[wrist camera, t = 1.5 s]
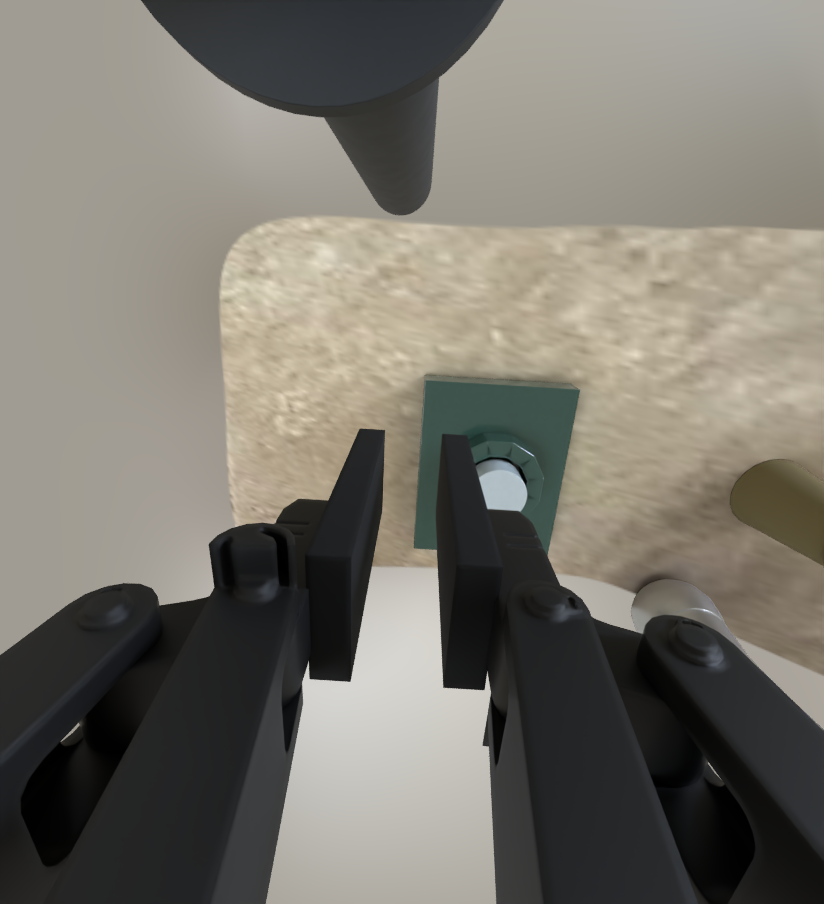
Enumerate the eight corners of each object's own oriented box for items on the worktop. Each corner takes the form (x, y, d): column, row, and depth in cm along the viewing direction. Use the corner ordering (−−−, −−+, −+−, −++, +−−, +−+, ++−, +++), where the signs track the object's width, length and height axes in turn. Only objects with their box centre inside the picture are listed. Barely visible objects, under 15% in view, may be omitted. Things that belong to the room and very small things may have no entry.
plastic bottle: (673, 635, 41) (877, 927, 23) (608, 614, 41) (763, 897, 22) (713, 582, 39) (976, 858, 20) (645, 559, 38) (853, 822, 20)
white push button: (469, 457, 32) (472, 468, 30) (525, 460, 32) (531, 472, 30) (463, 506, 33) (466, 520, 31) (517, 509, 33) (522, 524, 31)
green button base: (424, 374, 33) (424, 386, 29) (571, 383, 33) (590, 396, 29) (414, 535, 38) (413, 563, 34) (541, 543, 38) (554, 571, 34)
